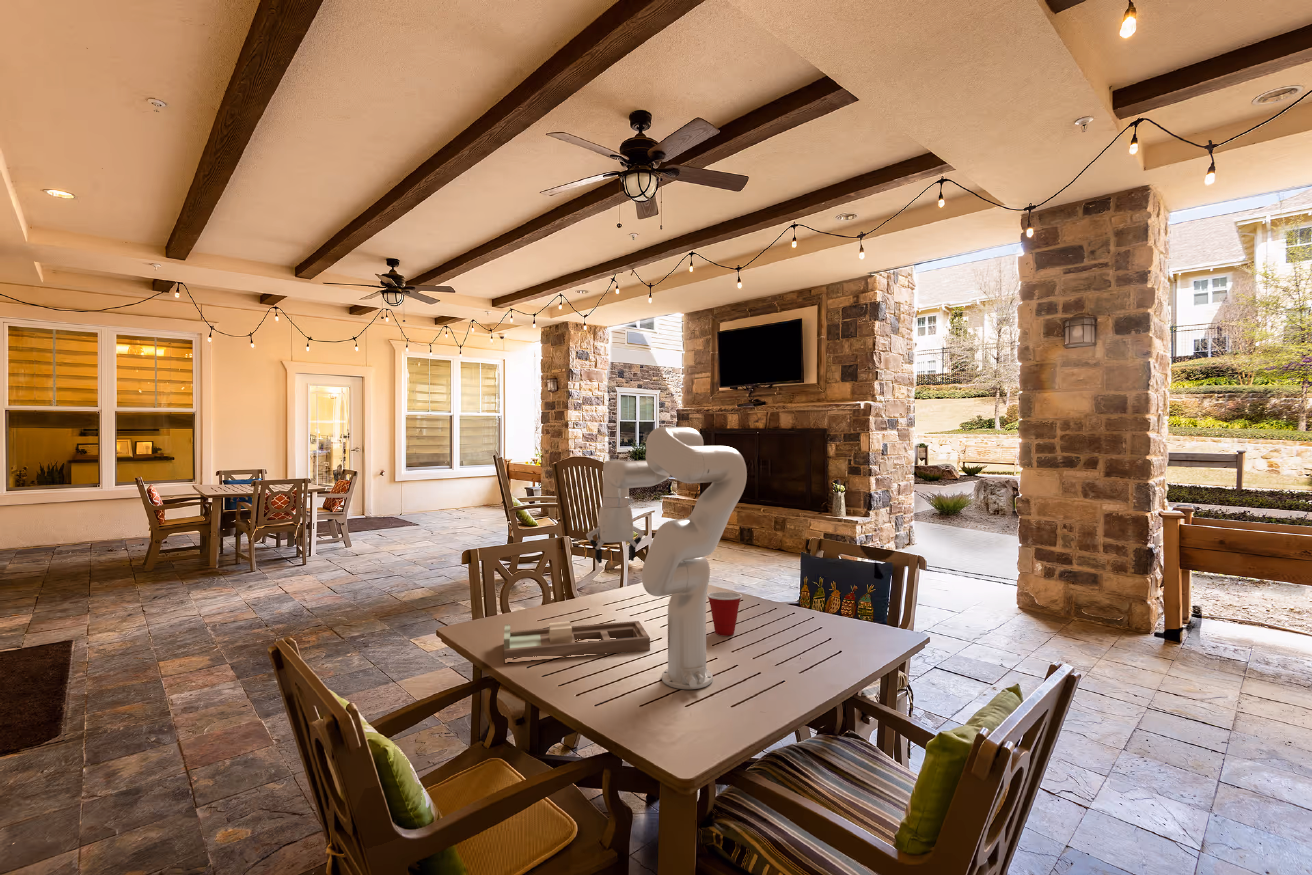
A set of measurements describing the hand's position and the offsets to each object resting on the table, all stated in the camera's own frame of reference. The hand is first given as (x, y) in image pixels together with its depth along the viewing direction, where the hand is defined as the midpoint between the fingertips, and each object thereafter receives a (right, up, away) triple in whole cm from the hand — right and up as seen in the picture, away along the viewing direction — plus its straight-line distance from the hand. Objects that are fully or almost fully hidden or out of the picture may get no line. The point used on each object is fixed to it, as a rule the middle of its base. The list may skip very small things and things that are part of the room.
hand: (615, 561), depth 173 cm
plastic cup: (+33, -24, +9) cm, 42 cm away
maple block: (-15, -22, -4) cm, 27 cm away
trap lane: (-11, -24, -3) cm, 27 cm away
